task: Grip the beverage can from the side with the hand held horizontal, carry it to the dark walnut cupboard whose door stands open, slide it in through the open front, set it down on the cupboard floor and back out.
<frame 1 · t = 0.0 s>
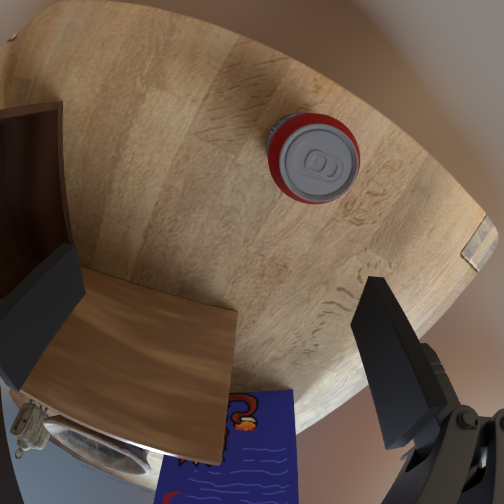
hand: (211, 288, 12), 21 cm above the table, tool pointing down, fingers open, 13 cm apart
cabinet door: (127, 361, 29), point 11 cm above the table, hinge at 100.0°
bowl: (111, 404, 56), on the table
grey bell: (43, 403, 64), on the table
cabinet: (32, 190, 31), on the table
cereal box: (236, 400, 50), on the table
beverage can: (298, 143, 28), on the table
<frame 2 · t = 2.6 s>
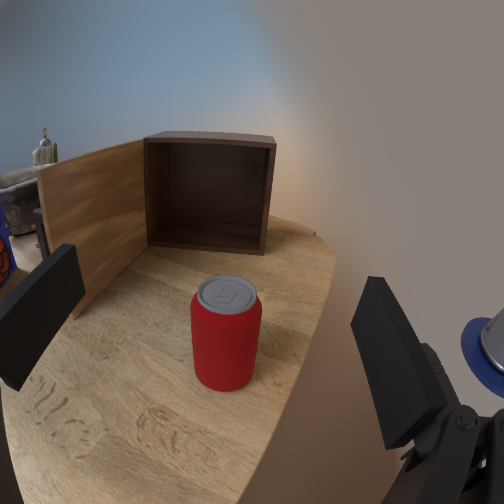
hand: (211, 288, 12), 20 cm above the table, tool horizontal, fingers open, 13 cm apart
cabinet door: (92, 216, 40), point 11 cm above the table, hinge at 100.0°
bowl: (27, 226, 59), on the table
grey bell: (48, 189, 88), on the table
cabinet: (208, 235, 63), on the table
beverage can: (223, 373, 31), on the table
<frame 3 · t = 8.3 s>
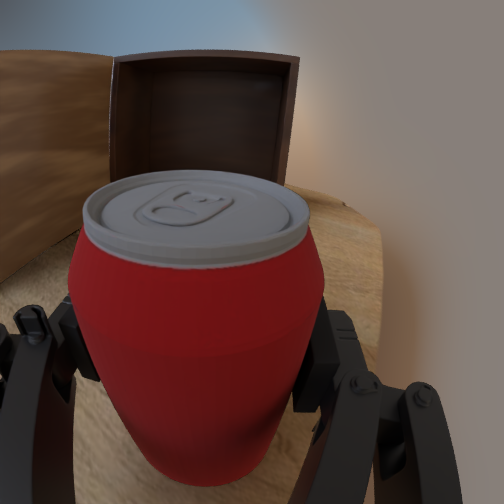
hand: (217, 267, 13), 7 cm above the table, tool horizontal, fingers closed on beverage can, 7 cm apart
cabinet door: (25, 151, 22), point 11 cm above the table, hinge at 100.0°
cabinet: (200, 198, 44), on the table
beverage can: (202, 434, 12), on the table, touching gripper
when the fingers open (8 cm above the table, at t = 19.9 s): beverage can stays where it is, resting on cabinet.
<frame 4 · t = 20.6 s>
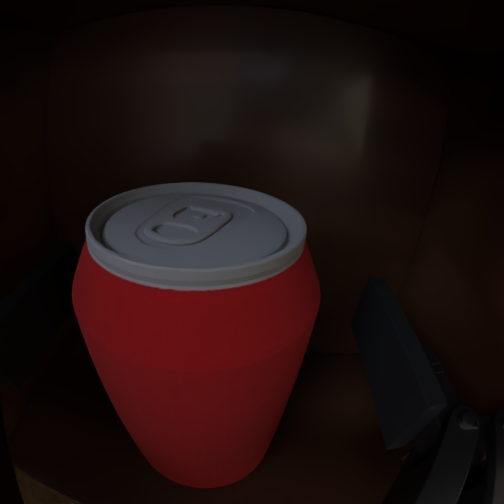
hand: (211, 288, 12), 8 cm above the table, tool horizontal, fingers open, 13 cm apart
cabinet: (205, 428, 14), on the table
beverage can: (202, 437, 12), point 1 cm above the table, touching cabinet
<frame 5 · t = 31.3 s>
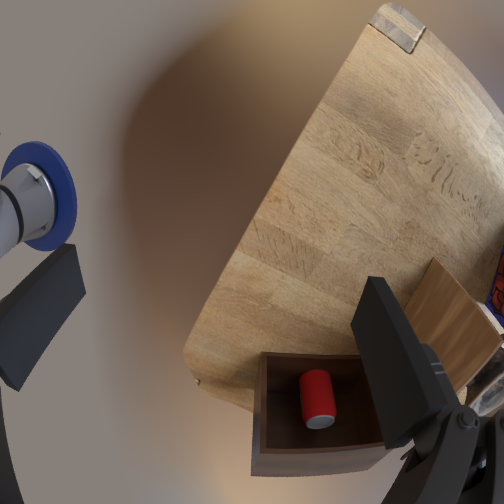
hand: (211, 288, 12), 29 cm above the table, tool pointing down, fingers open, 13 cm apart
cabinet door: (435, 351, 39), point 11 cm above the table, hinge at 100.0°
bowl: (480, 356, 57), on the table
cabinet: (312, 375, 57), on the table
beverage can: (314, 375, 56), point 1 cm above the table, touching cabinet
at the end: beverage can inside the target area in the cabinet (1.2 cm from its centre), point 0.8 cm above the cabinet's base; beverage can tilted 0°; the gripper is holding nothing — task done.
